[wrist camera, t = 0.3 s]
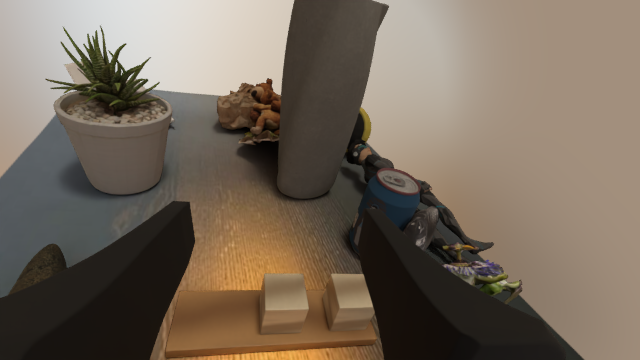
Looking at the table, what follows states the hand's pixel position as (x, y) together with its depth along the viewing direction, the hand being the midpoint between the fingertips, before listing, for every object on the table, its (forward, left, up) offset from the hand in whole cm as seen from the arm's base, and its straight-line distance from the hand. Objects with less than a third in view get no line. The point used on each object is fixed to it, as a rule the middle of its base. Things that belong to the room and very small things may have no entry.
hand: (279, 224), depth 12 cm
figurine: (+16, -34, -19) cm, 42 cm away
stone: (+53, -3, -15) cm, 55 cm away
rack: (+8, -4, -21) cm, 23 cm away
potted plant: (+32, +17, -21) cm, 42 cm away
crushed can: (+15, -26, -18) cm, 35 cm away
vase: (+34, -9, -21) cm, 41 cm away
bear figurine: (+45, -5, -18) cm, 48 cm away
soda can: (+19, -18, -21) cm, 34 cm away
